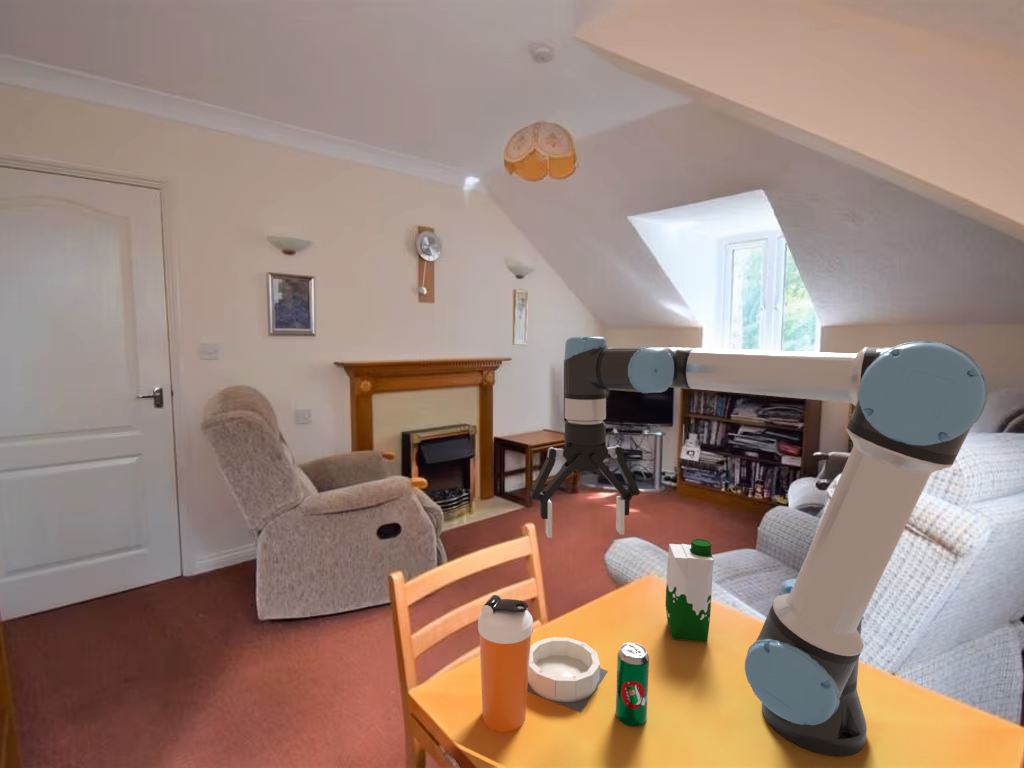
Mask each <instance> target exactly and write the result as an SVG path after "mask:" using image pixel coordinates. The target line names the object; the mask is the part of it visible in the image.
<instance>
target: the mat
mask: <svg viewBox="0 0 1024 768" xmlns="http://www.w3.org/2000/svg"><path fill="white" fill-rule="evenodd" d="M608 671H609V670H606V669H603V668H601V667H600V678H599V681H598V685H597V688H598V687H599V686H600V684H601V683H602V682H603V679H604V678H605V677H606V675H607V673H608ZM597 688H596V690H597ZM596 690H595V691H594V693H595V692H596ZM527 693H530V694H533V695H536V696H537V697H541V698H543V699H546V698H544V697H542V696H540V695H538V694H537V693H535V692H534V691H533V690H532V689H531V688H530V686H529V684H528V686H527ZM594 693H593V694H591V695H590V696H589V697H587V698H585V699H583V700H580V701H575V702H557V701H552V700H549V699H546V700H548V701H551V702H554V703H556V704H557V705H561V706H563V707H565V708H569V709H571V710H573V711H576V712H578V713H582V712H583V710H584V709H585V707H586V705H587V704H588V702H589V701H590V699H591V698H592V696H593V695H594Z"/></svg>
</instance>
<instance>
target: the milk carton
mask: <svg viewBox="0 0 1024 768" xmlns="http://www.w3.org/2000/svg"><path fill="white" fill-rule="evenodd" d="M690 543H691V544H686V543H681V544H679V543H678V544H677V543H676V544H675V543H669V545H668V555H667V563H666V581H665V583H666V585H665V588H666V589H665V611H666V619H667V624H668V629H669V631H670V636H671V639H673V640H681V641H690V642H691V641H692V642H704V643H708V638H709V632H710V631H709V630H710V622H711V621H710V620H711V609H712V592H713V591H712V590H713V589H712V587H713V575H714V574H713V572H714V561H715V560H714V558H713V553H712V542H710V541H708V540H706V539H701V538H695V539H692V540H691V542H690Z"/></svg>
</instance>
